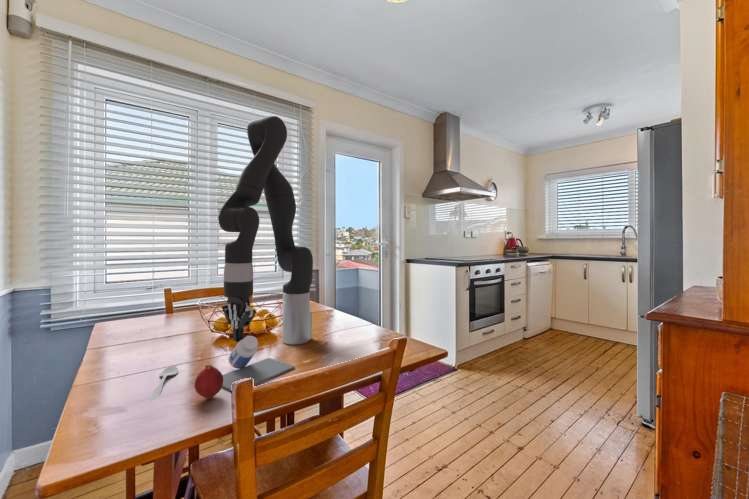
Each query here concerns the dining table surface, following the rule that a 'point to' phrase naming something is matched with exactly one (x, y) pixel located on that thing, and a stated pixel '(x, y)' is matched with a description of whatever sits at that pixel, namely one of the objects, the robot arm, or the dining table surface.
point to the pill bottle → (243, 352)
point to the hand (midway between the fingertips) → (238, 340)
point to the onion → (209, 382)
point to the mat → (256, 372)
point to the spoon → (168, 370)
